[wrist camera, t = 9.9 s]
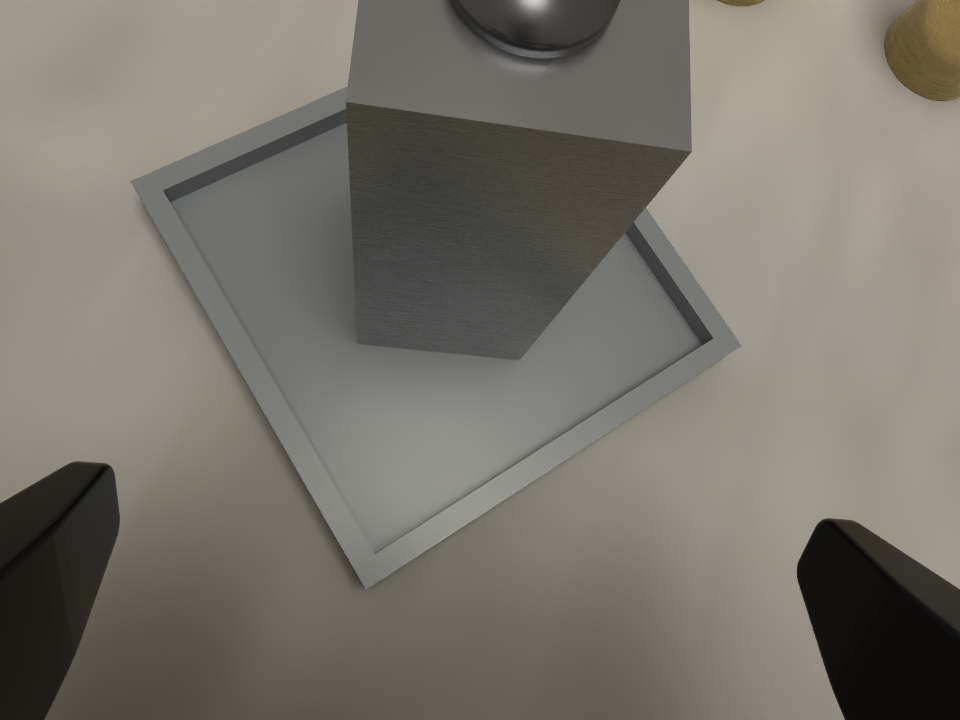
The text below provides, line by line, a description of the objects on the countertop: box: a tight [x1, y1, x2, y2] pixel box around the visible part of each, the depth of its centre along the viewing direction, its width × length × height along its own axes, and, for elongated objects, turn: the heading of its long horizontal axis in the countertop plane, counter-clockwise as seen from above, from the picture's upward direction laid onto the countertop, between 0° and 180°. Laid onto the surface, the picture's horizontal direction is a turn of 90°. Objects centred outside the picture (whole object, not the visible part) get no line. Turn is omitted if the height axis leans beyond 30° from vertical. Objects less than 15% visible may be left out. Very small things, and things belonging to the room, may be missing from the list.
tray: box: [131, 87, 741, 590], centre depth 20 cm, size 12×12×1 cm
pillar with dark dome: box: [346, 0, 692, 360], centre depth 15 cm, size 4×4×11 cm
